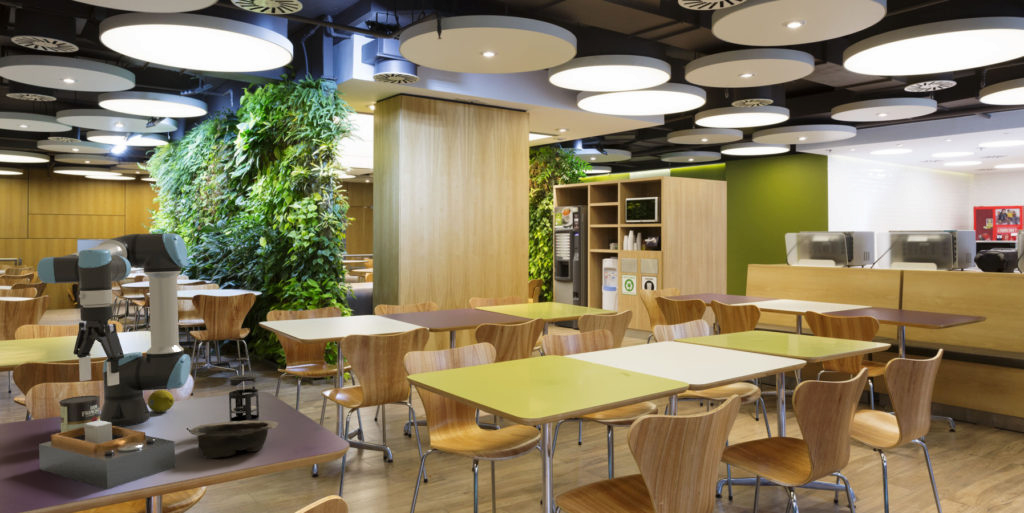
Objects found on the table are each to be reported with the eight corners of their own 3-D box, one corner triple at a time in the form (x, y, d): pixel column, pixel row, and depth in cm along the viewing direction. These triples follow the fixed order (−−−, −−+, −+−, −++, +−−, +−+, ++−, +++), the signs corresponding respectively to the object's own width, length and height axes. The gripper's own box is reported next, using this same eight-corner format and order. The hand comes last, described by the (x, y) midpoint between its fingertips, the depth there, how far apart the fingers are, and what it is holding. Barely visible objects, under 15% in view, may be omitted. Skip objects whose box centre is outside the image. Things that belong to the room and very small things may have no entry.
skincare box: (85, 467, 181) (83, 423, 181) (101, 462, 185) (99, 419, 185) (97, 470, 178) (96, 426, 178) (113, 465, 182) (112, 422, 182)
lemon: (143, 412, 242) (143, 390, 242) (165, 407, 248) (165, 386, 248) (156, 416, 235) (156, 394, 235) (179, 412, 241) (178, 390, 241)
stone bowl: (198, 469, 177) (196, 434, 177) (181, 453, 197) (179, 422, 198) (291, 449, 192) (289, 417, 192) (266, 436, 212) (264, 407, 212)
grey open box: (39, 469, 180) (38, 436, 179) (107, 451, 195) (106, 420, 195) (107, 489, 164) (106, 452, 164) (175, 467, 180) (174, 434, 179)
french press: (264, 428, 216) (262, 358, 216) (234, 434, 210) (232, 362, 210) (253, 421, 226) (251, 354, 225) (224, 426, 220) (222, 357, 219)
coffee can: (109, 440, 206) (107, 395, 206) (81, 450, 196) (80, 403, 196) (81, 439, 208) (79, 394, 208) (52, 449, 198) (50, 402, 198)
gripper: (57, 305, 185) (60, 381, 185) (108, 308, 172) (111, 389, 173) (85, 302, 191) (88, 376, 192) (136, 305, 179) (139, 383, 179)
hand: (99, 382), depth 182 cm, fingers open, 13 cm apart
